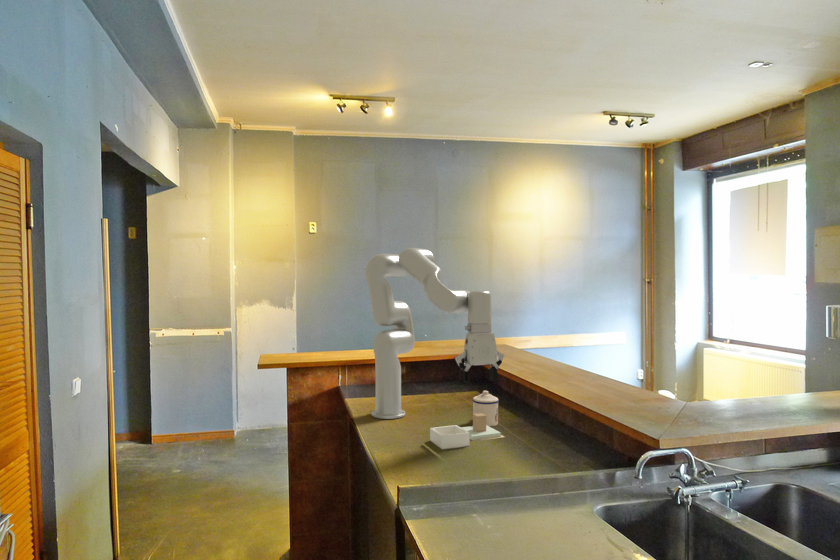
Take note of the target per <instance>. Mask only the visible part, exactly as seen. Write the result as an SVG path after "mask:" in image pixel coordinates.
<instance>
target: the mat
mask: <svg viewBox="0 0 840 560" xmlns="http://www.w3.org/2000/svg"><path fill="white" fill-rule="evenodd" d="M500 438H505V436H504V435H503V434H501V437H493V438H485V439H478V440H472V439H470V438H469V442H479V441H487V440H494V439H500Z"/></svg>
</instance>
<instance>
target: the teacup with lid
mask: <svg viewBox="0 0 840 560" xmlns="http://www.w3.org/2000/svg"><path fill="white" fill-rule="evenodd" d="M477 413H482V414H484V415H486V425H487V426H489V427H494V426H497V425H499V397H498V396H497V397H496V396H494V395H492V394H491V393H489V391H488V390H483V391H482V393H481V394H480V393H479V395H476V396H474V397H472V415H473V414H477Z"/></svg>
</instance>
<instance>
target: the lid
mask: <svg viewBox="0 0 840 560" xmlns="http://www.w3.org/2000/svg"><path fill="white" fill-rule="evenodd" d="M461 428H462V429H464V430H466V431H467V432H469V438H470V439H472V440H478V439H485V438H493V437H501V435H502V432H500V431H499V430H496V429H495V428H493V427H492V426H487V425H486V415H484V414H482V413H477V414H473V413H472V425H470V426H468V425H467V426H462V427H461Z"/></svg>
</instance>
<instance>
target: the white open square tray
mask: <svg viewBox="0 0 840 560" xmlns="http://www.w3.org/2000/svg"><path fill="white" fill-rule="evenodd" d="M429 439H430V440H429V441H430V442H431V443H432V444H434V446H436V447H438V448H439V449H440V450H448V449H451V450H452V449H457V448H458V449H459V448H465V447H470V440H469V432H467V431H466V430H464V429H462V428H461V427H460V426H459V425H457V424H454V425H453V424H452V425H445V426H444V425H443V426H438V427H430V428H429Z"/></svg>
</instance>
